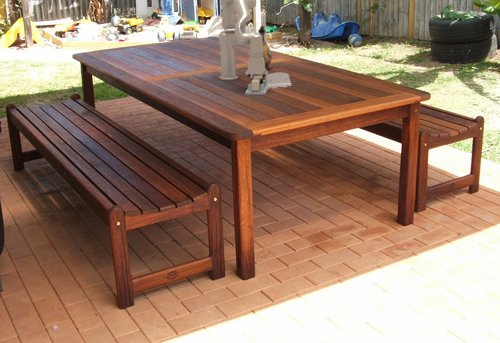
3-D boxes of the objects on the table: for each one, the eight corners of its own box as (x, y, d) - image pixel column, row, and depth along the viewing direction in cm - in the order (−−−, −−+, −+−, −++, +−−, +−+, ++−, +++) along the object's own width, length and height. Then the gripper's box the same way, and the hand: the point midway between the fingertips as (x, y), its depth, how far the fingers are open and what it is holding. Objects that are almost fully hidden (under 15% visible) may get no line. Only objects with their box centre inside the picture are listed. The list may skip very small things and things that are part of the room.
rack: (249, 88, 438) (249, 79, 436) (268, 88, 436) (268, 79, 434) (245, 94, 421) (245, 85, 419) (265, 94, 419) (265, 85, 417)
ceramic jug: (271, 71, 489) (271, 27, 479) (249, 71, 490) (249, 28, 480) (271, 66, 505) (271, 24, 496) (250, 66, 506) (249, 25, 496)
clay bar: (254, 84, 435) (254, 76, 434) (262, 84, 435) (261, 76, 433) (251, 90, 421) (251, 81, 419) (259, 90, 420) (258, 81, 418)
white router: (267, 88, 435) (265, 72, 435) (264, 90, 439) (263, 74, 439) (292, 86, 440) (290, 70, 440) (289, 87, 444) (288, 72, 444)
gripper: (241, 56, 419) (242, 86, 425) (269, 56, 417) (269, 86, 423) (243, 54, 426) (244, 83, 432) (271, 54, 424) (271, 83, 430)
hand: (256, 84), depth 427 cm, fingers closed on clay bar, 4 cm apart
